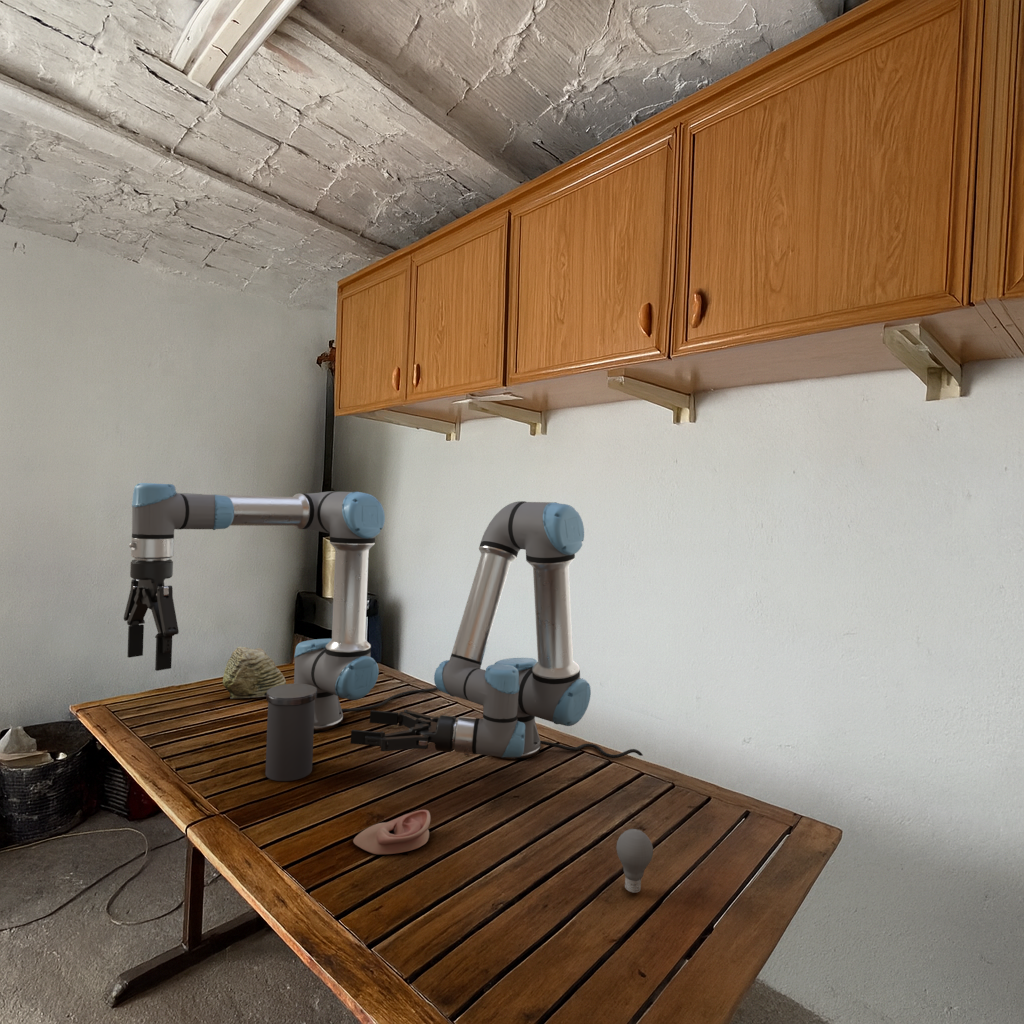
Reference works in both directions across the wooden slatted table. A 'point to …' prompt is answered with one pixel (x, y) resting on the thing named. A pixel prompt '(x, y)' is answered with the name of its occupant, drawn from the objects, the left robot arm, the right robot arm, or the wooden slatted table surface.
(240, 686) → the fossil
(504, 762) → the wooden slatted table surface
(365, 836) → the anatomical model
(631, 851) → the light bulb
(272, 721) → the jar
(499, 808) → the wooden slatted table surface
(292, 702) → the lid
